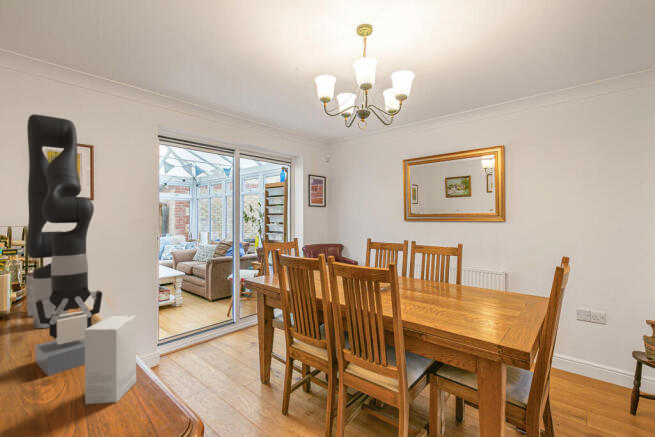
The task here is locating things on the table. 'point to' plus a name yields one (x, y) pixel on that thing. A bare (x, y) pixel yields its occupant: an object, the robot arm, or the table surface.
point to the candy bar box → (30, 295)
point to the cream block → (71, 327)
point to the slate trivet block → (60, 356)
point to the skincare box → (110, 359)
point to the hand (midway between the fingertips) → (71, 333)
